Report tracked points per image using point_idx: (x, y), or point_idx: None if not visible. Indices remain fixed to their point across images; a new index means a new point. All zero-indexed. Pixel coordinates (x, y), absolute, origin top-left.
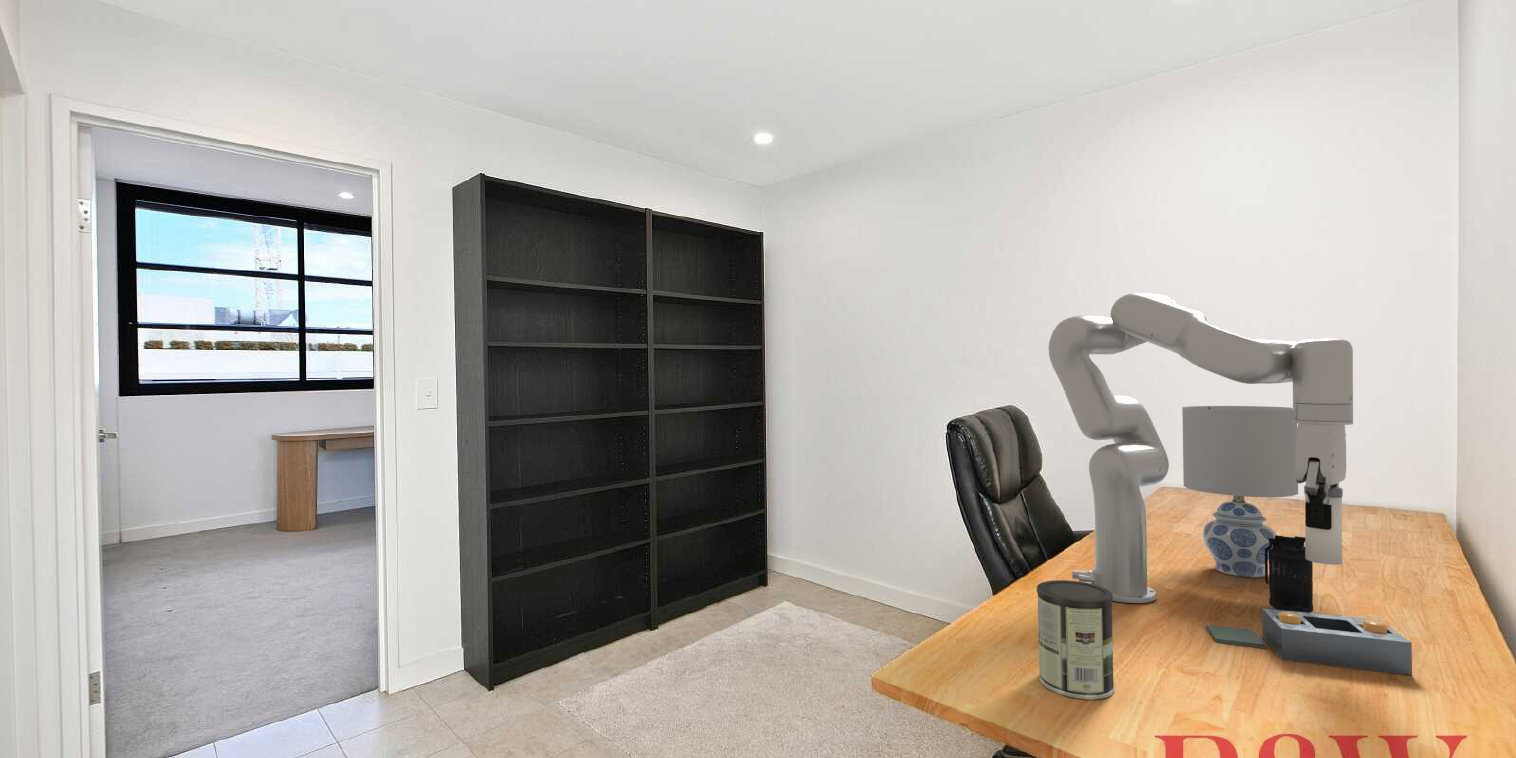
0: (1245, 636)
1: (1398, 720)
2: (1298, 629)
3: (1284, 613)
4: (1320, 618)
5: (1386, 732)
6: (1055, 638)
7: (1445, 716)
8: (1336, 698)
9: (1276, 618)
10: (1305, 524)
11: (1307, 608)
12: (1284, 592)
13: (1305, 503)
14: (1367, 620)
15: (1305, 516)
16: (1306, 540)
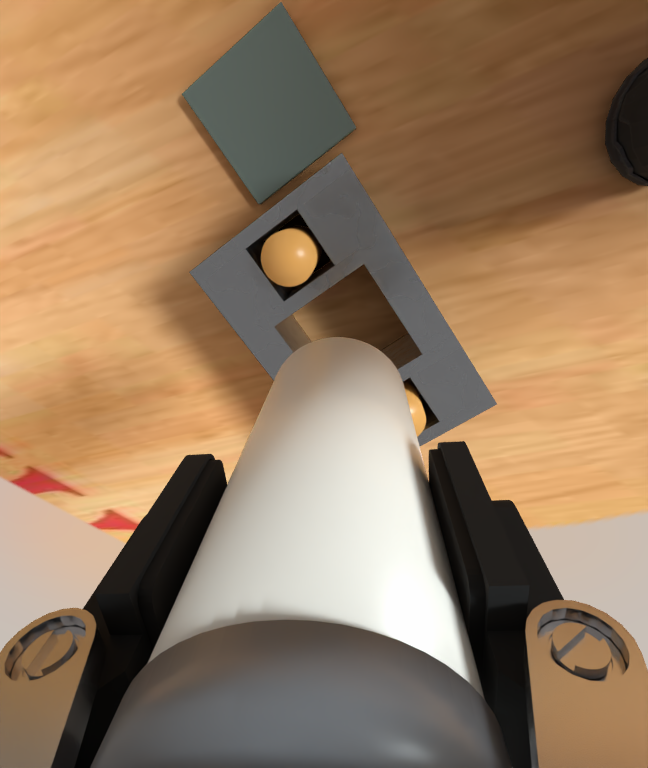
0: (274, 141)
1: (114, 471)
2: (221, 303)
3: (287, 244)
4: (389, 302)
5: (52, 470)
6: None
7: None
8: (109, 393)
9: (270, 227)
10: (185, 457)
11: (642, 180)
12: (643, 111)
13: (105, 583)
14: (413, 404)
15: (162, 494)
16: (279, 388)
